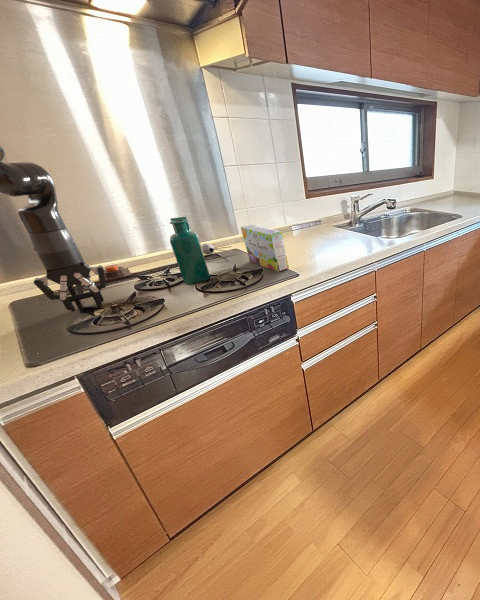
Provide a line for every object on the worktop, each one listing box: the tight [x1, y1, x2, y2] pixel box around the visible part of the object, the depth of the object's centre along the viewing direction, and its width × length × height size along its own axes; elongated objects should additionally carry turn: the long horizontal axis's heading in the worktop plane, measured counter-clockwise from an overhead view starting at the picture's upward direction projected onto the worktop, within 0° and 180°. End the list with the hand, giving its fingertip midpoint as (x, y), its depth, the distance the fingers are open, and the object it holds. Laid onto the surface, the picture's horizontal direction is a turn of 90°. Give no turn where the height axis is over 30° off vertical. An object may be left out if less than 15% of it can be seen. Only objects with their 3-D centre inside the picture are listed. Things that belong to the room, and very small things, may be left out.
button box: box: [104, 266, 133, 283], centre depth 120 cm, size 11×9×4 cm
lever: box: [67, 284, 94, 303], centre depth 91 cm, size 12×5×2 cm, turn 44°
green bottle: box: [169, 216, 211, 285], centre depth 115 cm, size 10×8×22 cm
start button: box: [104, 264, 119, 272], centre depth 119 cm, size 4×4×2 cm
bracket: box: [67, 273, 103, 314], centre depth 95 cm, size 10×9×13 cm
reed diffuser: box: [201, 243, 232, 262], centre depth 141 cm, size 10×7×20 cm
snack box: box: [240, 224, 290, 273], centre depth 129 cm, size 21×6×15 cm, turn 53°
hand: (87, 306), depth 89 cm, fingers closed on lever, 5 cm apart
